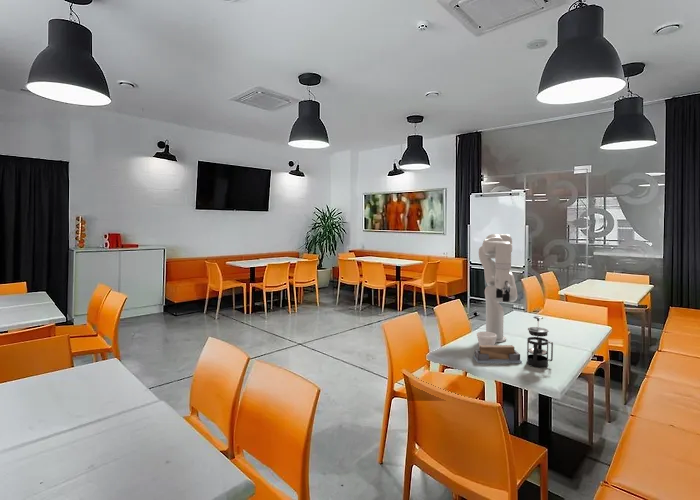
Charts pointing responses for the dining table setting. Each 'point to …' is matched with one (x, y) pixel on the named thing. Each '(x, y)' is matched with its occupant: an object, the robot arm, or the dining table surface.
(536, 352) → the french press
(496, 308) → the robot arm
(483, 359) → the cradle
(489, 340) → the cup
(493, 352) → the slat
